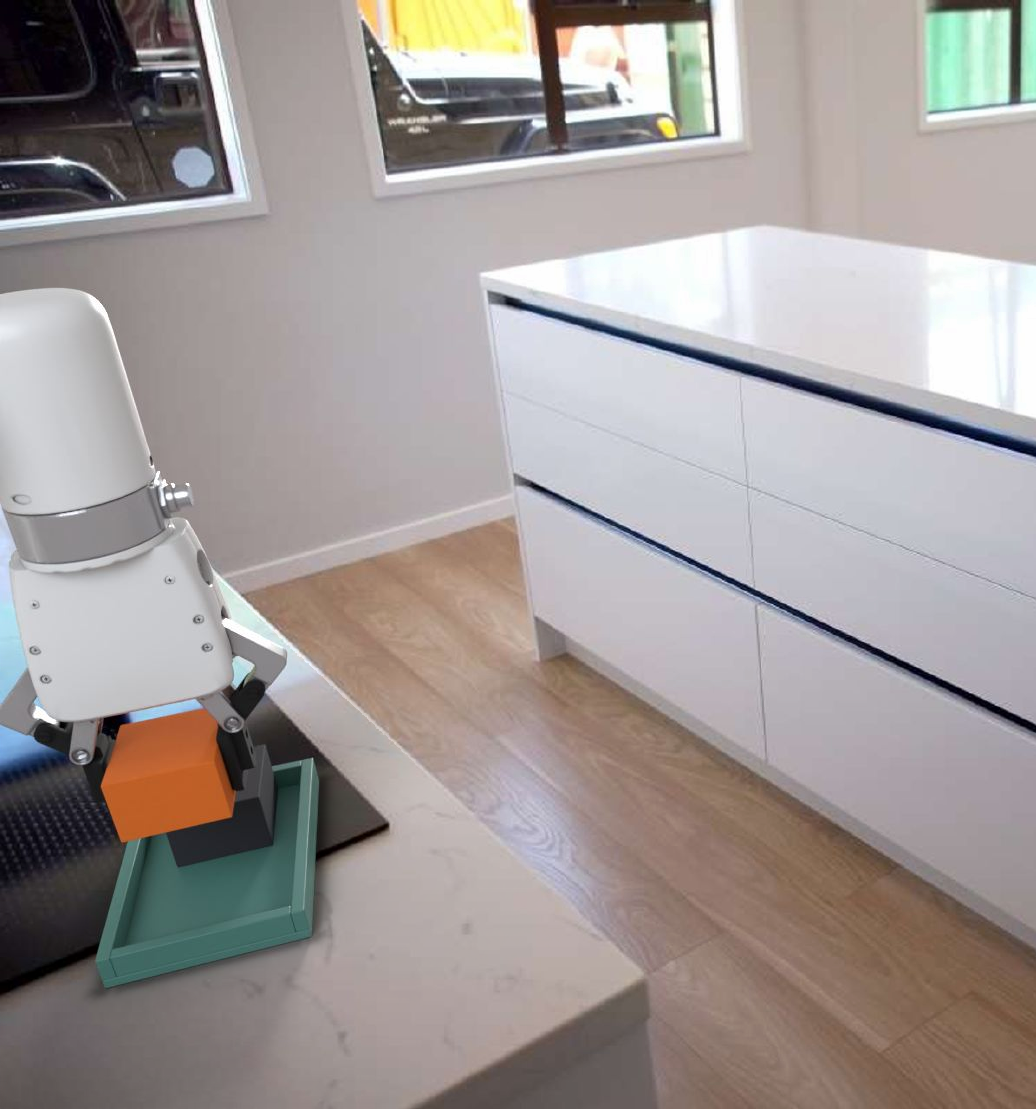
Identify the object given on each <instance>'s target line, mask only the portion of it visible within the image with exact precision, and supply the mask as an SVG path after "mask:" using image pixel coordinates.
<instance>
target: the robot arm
mask: <svg viewBox="0 0 1036 1109" xmlns="http://www.w3.org/2000/svg"><path fill="white" fill-rule="evenodd" d="M118 346H119V345H118V343H117V339H116V335H115V333H114V330H113V327H112V324H111V321H110V319H109V316H108V313H107V311H106V309H105V308H104V306H103V305H102V304H101V303H100V301H99V300H98V299H96V297H94V296H93V295H92V294H90V293H88V292H86V291H83V290H80V289H74V288H68V287H45V288H33V289H23V290H18V291H17V290H16V291H11V292H4V293H0V508H1V511H2V513H3V516H4V519H5V521H6V524H7V527H8V530H9V532H10V535H11V537H12V540H13V543H14V546H15V550H14V551H13V552H12V554H11V556H10V559H9V561H8V571H9V572H8V573H9V583H10V590H11V597H12V605H13V609H14V615H15V619H16V624H17V629H18V634H19V638H20V642H21V643H20V644H21V647H22V649H23V655H24V659H25V662H26V666H27V667H26V668H25V669H24V671H23V673H22V674H21V675H20V677H19V678H18V680H17V681H16V682H15V684H14V685H13V687H12V688H11V689H10V691H9V693H8V694H7V695H6V697H5V698H4V700H3V701H2V702H1V704H0V726H2V727H4V728H7V729H10V730H12V731H14V732H17V733H19V734H21V735H24V736H26V737H28V736H30V737H33V738H34V740H35V742H37V743H38V744H40V745H43V746H45V747H48V748H50V749H51V750H55V751H56V752H59V753H61V754H63V755H66V756H68V758H69V760H70V762H71V763H72V764H75V765H78V766H81V767H82V769H83V772H84V775H85V777H86V780H87V783H88V785H89V788H90V791H91V793H92V796H93V799H94V801H95V803H103V802H104V805H105V807H106V810H107V813H108V815H109V818H110V820H112V821H113V818H112V816H111V813H110V810H109V808H108V805H107V802H106V799H105V797H104V794H103V791H102V788H101V784H102V781H103V778H104V775H105V772H106V768H107V766H108V763H109V760H110V757H111V754H112V751H113V748H114V745H115V741H116V739H112V736H111V735H106V734H105V733H102V730H103V725H104V718H109V717H114V716H119V715H123V714H129V713H134V712H139V711H144V710H149V709H153V708H158V707H163V706H169V705H173V704H177V703H182V702H183V703H184V702H188V701H191V700H196V701H197V702H198V704H200V706H201V708H204V709H205V710H206V711H207V712H208V713H209V714H210V715H211V716H212V718H213V719H214V720H215V721H216V722H217V724H218V730H217V735H216V742H217V744H218V746H219V749H220V752H221V755H222V758H223V762H224V765H225V768H226V771H227V774H228V778H229V781H230V784H231V787H232V790H235V791H236V792H237V791H242V790H245V789H246V782H247V775H248V769H252V768H255V767H256V755H255V751H254V747H255V746H254V745H253V741H252V737H251V735H250V731H249V727H248V725H247V719H248V718H249V716H250V715H251V714H252V712H254V709H255V708H256V707H257V706H258V704H259V703H260V702H261V701H262V699H263V698H264V696H265V694H266V692H267V690H268V689H269V688H270V687H271V686H272V685H273V684H274V682H275V681H276V680H277V678H278V677H279V675H281V673H282V672H283V670H284V669H285V668H286V666H287V663H288V650H287V649H286V648H285V647H283V646H281V645H279V644H277V643H275V642H273V641H271V640H269V639H268V638H265V637H264V636H261V635H260V634H257V633H255V632H253V631H252V630H249V629H248V628H246V627H244V626H242V625H240V624H238V623H236V622H235V621H233V619H232V616H231V613H230V610H229V607H228V604H227V602H226V599H225V597H224V594H223V592H222V588H221V586H220V583H219V582H218V579H217V577H216V575H215V572H214V569H213V566H212V565H211V563H210V560H209V558H208V556H207V554H206V552H205V550H204V547H203V546H202V544H201V542H200V539H199V538H198V536H197V534H196V532H195V530H194V529H193V528H192V526H191V524H190V522H189V521H188V519H186V518H183V517H180V516H174V514H175V513H179V512H181V510H183V509H189V508H194V506H195V498H194V494H193V490H192V487H191V485H190V484H189V483H183V484H177V485H176V484H175V483H169V484H168V483H167V481H166V479H163V478H162V475H161V472H160V470H159V471H156V467H155V463H154V461H153V457H152V454H151V451H150V447H149V445H148V442H147V438H146V435H145V431H144V427H143V425H142V420H141V418H140V415H139V411H138V408H137V405H136V401H135V399H134V394H133V392H132V388H131V385H130V382H129V378H128V375H127V372H126V368H125V366H124V363H123V359H122V356H121V353H120V350H119V349H120V348H119V347H118ZM236 657H239V658H242V659H244V660H246V661H248V662H249V663H252V664H253V668H252V669H251V670H250V672H248V673H246V675H245V676H244V677H243V679H242V680H241V681H240V683H239V684H238V686H236V685H235V684H234V679H235V671H234V666H233V665H234V664H233V663H234V659H235V658H236ZM36 699H38V701H39V704H40V705H41V708H40V707H39V706H37V705H36V704H35V701H36Z"/></svg>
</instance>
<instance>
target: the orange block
mask: <svg viewBox="0 0 1036 1109" xmlns="http://www.w3.org/2000/svg"><path fill="white" fill-rule="evenodd" d="M217 730H218V724H217V722H216V721H215V720H214V719H213V718H212V716H211V715H210V714H209V713H208V712H207V711H206V710H205V709H204V708H203V707H201V708H198V709H193V710H192V709H191V710H188V711H183V712H177V713H173V714H169V715H168V714H167V715H163V716H159V717H154V718H150V719H143V720H140V721H139V720H138V721H135V722H129V723H125V724H121V725H120V726H119V729H118V732H117V735H116V738H115V745H114V748H113V751H112V754H111V757H110V760H109V763H108V766H107V768H106V772H105V775H104V778H103V781H102V784H101V788H102V791H103V794H104V797H105V799H106V802H107V805H108V808H109V810H110V813H111V816H112V818H113V820H112V821H113V824H114V827H115V829H116V831H117V835H118V837H119V840H120V842H121V844H122V843H128V841H132V840H136V839H140V838H145V837H149V836H153V835H157V834H162V833H166V832H170V831H175V830H179V829H183V828H188V827H192V826H196V825H201V824H205V823H209V822H214V821H218V820H222V819H227V818H231V817H232V814H233V808H234V801H235V794H236V791H235V790H232V787H231V784H230V781H229V778H228V774H227V771H226V768H225V765H224V762H223V758H222V755H221V752H220V749H219V746H218V744H217V742H216V735H217Z"/></svg>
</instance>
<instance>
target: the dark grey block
mask: <svg viewBox="0 0 1036 1109" xmlns="http://www.w3.org/2000/svg"><path fill="white" fill-rule="evenodd" d="M253 747H254V751H255V755H256V767H255V768H252V769H248V775H247V782H246V789H245V790H242V791H237V792H236V794H235V801H234V808H233V814H232V817H231V818H227V819H222V820H218V821H214V822H209V823H205V824H201V825H196V826H192V827H188V828H183V829H179V830H175V831H170V832H166V835H167V838H168V841H169V844H170V847H171V850H172V853H173V856H174V859H175V862H176V865H177V867H182V866H187V865H191V864H195V863H200V862H204V861H208V860H213V859H217V858H221V857H225V856H230V855H234V854H238V853H243V852H247V851H251V850H256V849H260V848H264V847H269V846H272V845H273V840H274V830H275V820H276V810H277V800H278V787H277V783H276V780H275V776H274V773H273V769H272V762H271V760H270V756H269V753H268V749H267V745H266V744H261V745H256V746H253Z"/></svg>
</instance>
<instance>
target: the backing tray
mask: <svg viewBox="0 0 1036 1109" xmlns="http://www.w3.org/2000/svg"><path fill="white" fill-rule="evenodd" d="M271 766H272V765H271ZM272 769H273V773H274V776H275V780H276V783H277V787H278V800H277V810H276V820H275V830H274V840H273V845H272V846H269V847H264V848H260V849H256V850H251V851H247V852H243V853H238V854H234V855H230V856H225V857H221V858H217V859H213V860H208V861H204V862H200V863H195V864H191V865H187V866H182V867H177V865H176V862H175V859H174V856H173V853H172V850H171V847H170V844H169V841H168V838H167V835H166V833H162V834H157V835H153V836H149V837H145V838H140V839H136V840H132V841H127V842H126V847H125V849H124V850H125V851H124V854H123V858H122V862H121V865H120V868H119V872H118V875H117V880H116V883H115V887H114V891H113V895H112V898H111V900H110V901H111V902H110V905H109V909H108V913H107V915H106V916H107V917H106V919H105V923H104V927H103V930H102V934H101V938H100V942H99V945H98V949H97V953H96V956H95V959H94V963H95V966H96V968H97V971H98V974H99V976H100V979H101V981H102V984H103V987H104V988H105V989H109V988H114V987H116V986H121V985H124V984H129V983H132V982H137V981H141V980H145V979H149V978H152V977H157V976H161V975H164V974H169V973H172V972H176V971H180V970H185V969H188V968H192V967H195V966H201V965H204V964H208V963H212V962H216V961H221V960H223V959H224V960H225V959H228V958H232V957H236V956H240V955H243V954H247V953H251V952H256V951H260V950H264V949H267V948H272V947H275V946H279V945H282V944H287V943H291V942H295V941H298V940H303V939H308V938H311V937H312V936H313V919H314V918H313V917H314V896H315V874H316V854H317V837H318V836H317V835H318V833H317V832H318V812H319V791H320V779H319V775H318V771H317V768H316V764H315V760H314V758H313V757H311V758H305V759H302V760H301V759H300V760H296V761H290V762H286V763H281V764H277V765H273V766H272Z"/></svg>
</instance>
